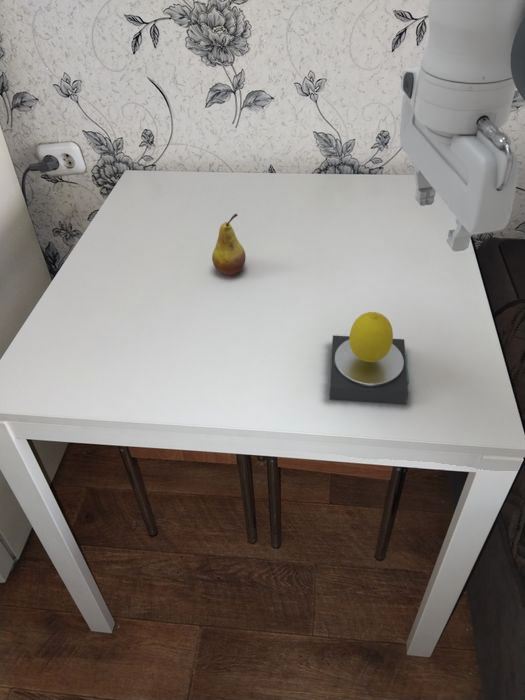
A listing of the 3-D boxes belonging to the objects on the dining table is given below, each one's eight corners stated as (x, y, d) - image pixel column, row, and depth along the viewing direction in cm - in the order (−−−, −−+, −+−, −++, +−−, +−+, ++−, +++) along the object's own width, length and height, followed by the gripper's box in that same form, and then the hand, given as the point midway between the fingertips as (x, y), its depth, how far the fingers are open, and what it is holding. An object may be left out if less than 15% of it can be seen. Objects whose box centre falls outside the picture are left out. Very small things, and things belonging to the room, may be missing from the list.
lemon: (387, 346, 81) (394, 301, 76) (390, 375, 77) (397, 330, 72) (347, 344, 82) (351, 299, 76) (347, 373, 78) (351, 328, 72)
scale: (404, 352, 85) (406, 339, 83) (407, 405, 78) (410, 392, 76) (331, 348, 86) (332, 335, 84) (329, 400, 79) (330, 387, 77)
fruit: (244, 258, 102) (239, 196, 94) (248, 278, 98) (244, 215, 90) (212, 262, 102) (205, 200, 94) (215, 282, 98) (208, 219, 90)
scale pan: (401, 340, 83) (402, 337, 82) (405, 389, 76) (405, 386, 76) (335, 337, 84) (335, 334, 83) (333, 384, 77) (333, 381, 77)
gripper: (551, 140, 49) (510, 274, 59) (452, 59, 64) (432, 177, 73) (480, 150, 48) (450, 283, 58) (396, 65, 63) (383, 183, 73)
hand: (439, 223), depth 66 cm, fingers open, 8 cm apart
